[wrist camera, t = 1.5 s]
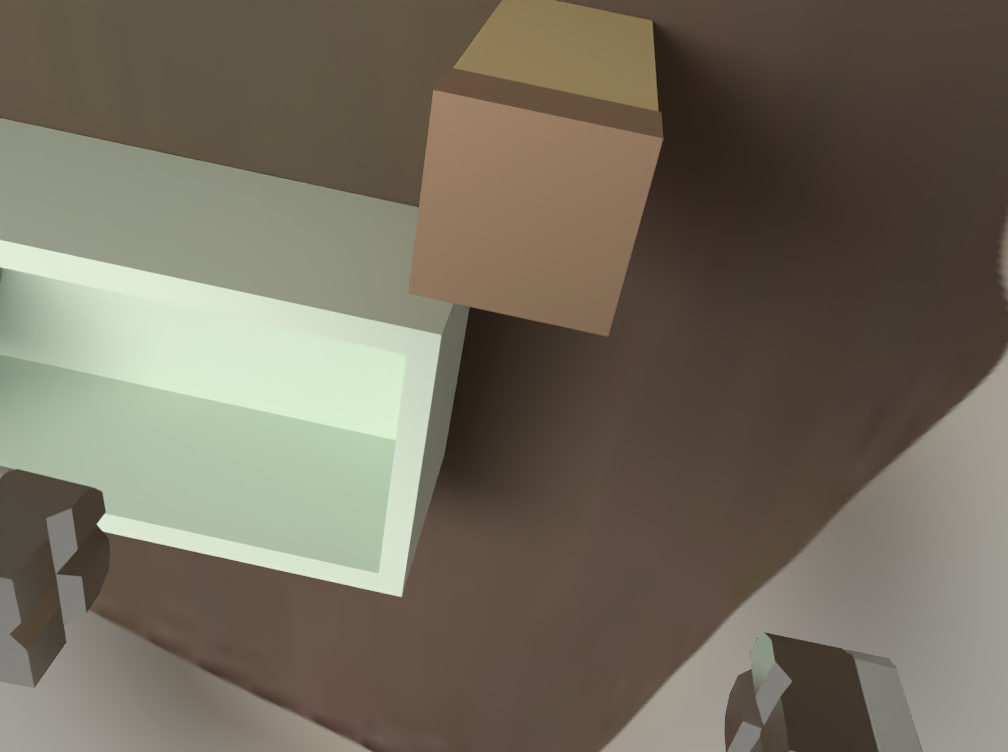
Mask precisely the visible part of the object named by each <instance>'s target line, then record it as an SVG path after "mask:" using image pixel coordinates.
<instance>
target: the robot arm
mask: <svg viewBox="0 0 1008 752" xmlns="http://www.w3.org/2000/svg"><path fill="white" fill-rule="evenodd" d="M105 513H106V510H105V504H104V498H103V492H102V491H100V490H98V489H96V488H94V487H89V486H85V485H81V484H77V483H73V482H69V481H65V480H61V479H57V478H53V477H48V476H44V475H40V474H36V473H32V472H28V471H24V470H20V469H13V468H9V467H4V466H0V681H2V682H7V683H12V684H17V685H22V686H28V687H33V688H34V687H35V686H36V685H37V683H38V682H39V680H40V679H41V678H42V676H43V675H44V673H45V672H46V670H47V669H48V668H49V666H50V665H51V663H52V662H53V661H54V659H55V658H56V656H57V655H58V653H59V652H60V651H61V649H62V648H63V646H64V645H65V643H66V638H65V630H64V624H66V623H68V622H70V621H72V620H74V619H76V618H78V617H80V616H82V615H84V614H86V613H87V611H88V610H89V608H90V607H91V605H92V604H93V602H94V601H95V599H96V598H97V596H98V595H99V593H100V590H101V588H102V585H103V583H104V580H105V577H106V575H107V572H108V567H109V559H110V545H109V538H108V537H107V536H106V535H105V534H104V532H103V531H102V530H101V529H100V528H99V527H98V525H97V523H98V522H99V521H100V519H101V518H102V517H103V515H104V514H105ZM750 659H751V666H752V669H751V670H749V671H747V672H745V673H743V674H741V675H739V676H738V677H737V679H736V681H735V684H734V686H733V688H732V690H731V692H730V695H729V700H728V705H727V710H726V715H725V745H726V752H922V748H921V745H920V742H919V739H918V736H917V733H916V729H915V726H914V723H913V720H912V717H911V714H910V710H909V707H908V704H907V701H906V698H905V694H904V691H903V688H902V685H901V682H900V679H899V676H898V672H897V669H896V666H895V665H894V664H893V663H892V662H891V660H890V659H889V658H883V657H879V656H875V655H870V654H865V653H860V652H855V651H851V650H843V649H842V648H837V647H832V646H827V645H822V644H818V643H813V642H808V641H803V640H798V639H793V638H788V637H784V636H779V635H774V634H769V633H763V634H762V635H760V636H759V637H758V638H757V639H756V641H755V643H754V645H753V647H752V649H751V651H750Z"/></svg>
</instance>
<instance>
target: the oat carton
mask: <svg viewBox="0 0 1008 752" xmlns="http://www.w3.org/2000/svg"><path fill="white" fill-rule="evenodd" d="M662 142H663V127H662V114H661V112H659V111H658V97H657V82H656V67H655V53H654V38H653V24H652V21H651V20H647V19H642V18H637V17H632V16H628V15H623V14H618V13H613V12H608V11H604V10H599V9H594V8H589V7H585V6H580V5H575V4H570V3H566V2H561V1H556V0H502V1H501V2H500V4H499V5H498V7H497V8H496V9H495V11H494V12H493V13H492V15H491V16H490V18H489V19H488V20H487V22H486V23H485V25H484V26H483V27H482V29H481V30H480V32H479V33H478V34H477V36H476V37H475V38H474V40H473V41H472V43H471V44H470V45H469V47H468V48H467V50H466V51H465V52H464V54H463V55H462V56H461V58H460V59H459V61H458V62H457V63H456V65H455V66H454V68H449V69H448V71H447V72H446V74H445V75H444V76H443V78H442V79H441V80H440V82H439V83H438V84H437V86H436V87H435V89H434V90H433V98H432V106H431V114H430V122H429V130H428V138H427V146H426V154H425V162H424V170H423V178H422V186H421V194H420V203H419V211H418V219H417V227H416V235H415V243H414V251H413V259H412V267H411V275H410V283H409V291H408V294H413V295H417V296H422V297H427V298H431V299H436V300H440V301H445V302H450V303H454V304H459V305H464V306H468V307H473V308H478V309H482V310H487V311H492V312H496V313H501V314H506V315H510V316H515V317H520V318H524V319H529V320H534V321H538V322H543V323H548V324H552V325H557V326H561V327H566V328H571V329H575V330H580V331H585V332H589V333H594V334H599V335H603V336H608V335H609V332H610V328H611V325H612V321H613V317H614V314H615V310H616V307H617V303H618V299H619V296H620V292H621V289H622V285H623V282H624V278H625V274H626V271H627V267H628V264H629V260H630V256H631V253H632V249H633V246H634V242H635V239H636V235H637V231H638V228H639V224H640V221H641V217H642V213H643V210H644V206H645V203H646V199H647V195H648V192H649V188H650V185H651V181H652V178H653V174H654V170H655V167H656V163H657V160H658V156H659V152H660V149H661V145H662Z"/></svg>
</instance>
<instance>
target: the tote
mask: <svg viewBox="0 0 1008 752" xmlns="http://www.w3.org/2000/svg"><path fill="white" fill-rule="evenodd" d="M418 211H419V207H415V206H410V205H406V204H401V203H396V202H392V201H387V200H382V199H378V198H373V197H368V196H363V195H359V194H354V193H349V192H345V191H340V190H335V189H331V188H326V187H321V186H317V185H312V184H307V183H303V182H298V181H293V180H289V179H284V178H279V177H274V176H270V175H265V174H260V173H256V172H251V171H246V170H242V169H237V168H232V167H228V166H223V165H218V164H214V163H209V162H204V161H199V160H195V159H190V158H185V157H181V156H176V155H171V154H167V153H162V152H157V151H153V150H148V149H143V148H139V147H134V146H129V145H125V144H120V143H115V142H110V141H106V140H101V139H96V138H92V137H87V136H82V135H78V134H73V133H68V132H64V131H59V130H54V129H50V128H45V127H40V126H36V125H31V124H26V123H21V122H17V121H12V120H7V119H3V118H0V267H1V268H2V278H1V282H0V466H4V467H9V468H13V469H20V470H24V471H28V472H32V473H36V474H40V475H44V476H48V477H53V478H57V479H61V480H65V481H69V482H73V483H77V484H81V485H85V486H89V487H94V488H96V489H98V490H100V491H102V492H103V498H104V504H105V510H106V513H105V514H104V515H103V517H102V518H101V519H100V521H99V522H98V523H97V525H98V527H99V528H100V529H101V530H102V531H103V532H108V533H113V534H117V535H122V536H126V537H131V538H135V539H140V540H144V541H149V542H153V543H158V544H163V545H167V546H172V547H176V548H181V549H185V550H190V551H194V552H199V553H204V554H208V555H213V556H217V557H222V558H226V559H231V560H235V561H240V562H244V563H249V564H254V565H258V566H263V567H267V568H272V569H276V570H281V571H285V572H290V573H295V574H299V575H304V576H308V577H313V578H317V579H322V580H326V581H331V582H335V583H340V584H345V585H349V586H354V587H358V588H363V589H367V590H372V591H376V592H381V593H386V594H390V595H395V596H399V597H402V594H403V591H404V587H405V584H406V581H407V577H408V574H409V571H410V567H411V564H412V561H413V558H414V554H415V551H416V548H417V544H418V541H419V538H420V534H421V531H422V528H423V524H424V521H425V518H426V514H427V511H428V508H429V504H430V501H431V498H432V494H433V491H434V488H435V484H436V481H437V478H438V474H439V471H440V468H441V465H442V461H443V458H444V455H445V449H446V443H447V437H448V432H449V426H450V420H451V414H452V408H453V402H454V396H455V391H456V385H457V379H458V373H459V367H460V361H461V355H462V349H463V344H464V338H465V332H466V326H467V320H468V314H469V308H470V307H468V306H464V305H459V304H454V303H450V302H445V301H440V300H436V299H431V298H427V297H422V296H417V295H413V294H408V291H409V283H410V275H411V267H412V259H413V251H414V243H415V235H416V227H417V219H418Z"/></svg>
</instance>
